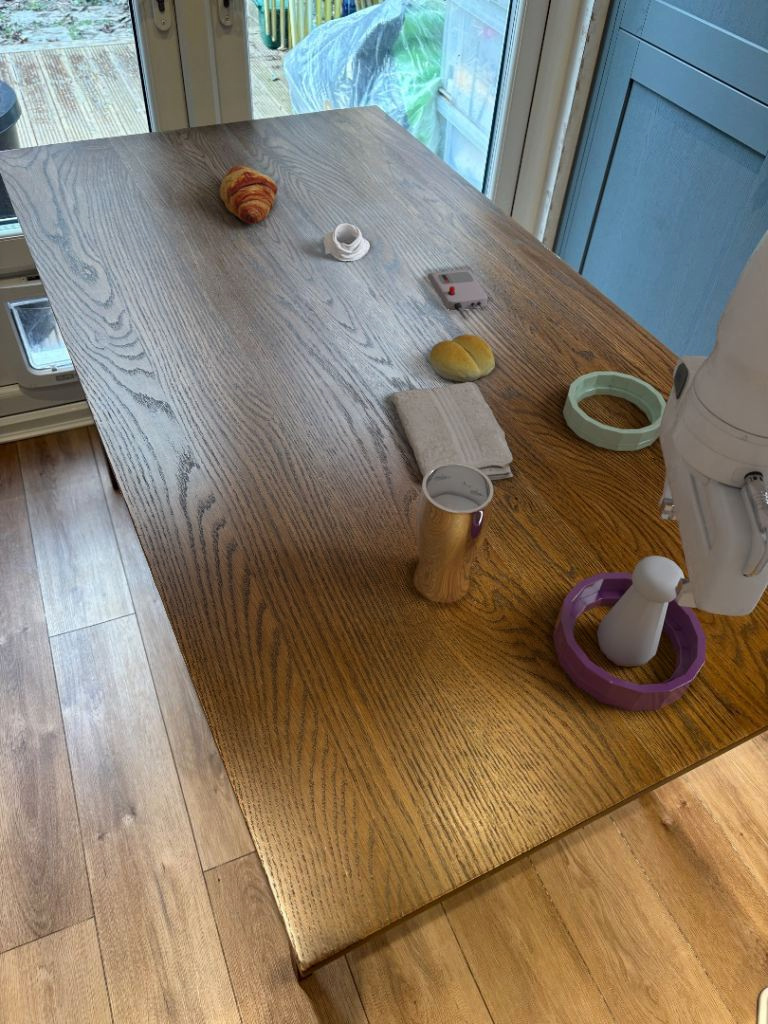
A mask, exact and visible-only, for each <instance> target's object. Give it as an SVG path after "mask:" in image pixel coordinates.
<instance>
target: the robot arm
mask: <svg viewBox="0 0 768 1024" xmlns="http://www.w3.org/2000/svg"><path fill="white" fill-rule="evenodd" d="M672 378H673V379H672V380H673V385H672V388H671V390H670V393H669V396H668V398H667V401H666V407H665V410H664V413H663V416H662V419H661V424H660V434H659V437H658V438H659V443H660V448H661V453H662V457H663V462H664V466H665V476H664V483H663V484H664V485H663V490H662V495H661V496H660V500H659V502H658V504H657V505H658V506H657V507H658V511H659V515H660V518H661V519H662V520H665V521H667V520H670V521H674V522H675V521H676V523H677V527H678V532H679V535H680V536H679V537H680V541H681V546H682V550H683V554H684V560H685V564H686V569H687V573H688V578H685V577H684V578H680V580H679V582H678V585H677V586H676V587H675V592H676V597H677V603H678V605H679V606H683V607H689V608H690V609H691V608H693V609H694V608H697V609H698V610H700V611H701V612H706V613H710V614H714V615H721V616H729V617H730V616H732V617H742V616H747V615H750V614H751V613H752V612H753V611H754V609H755V608H756V606H757V604H758V603H759V601H760V599H761V598H762V596H763V595H764V594H763V593H764V592H765V590H766V589H767V587H768V228H767V229H766V230H765V232H764V233H763V236H762V237H761V239H759V242H758V244H757V245H756V247H755V248H754V250H753V251H752V254H751V255H750V257H749V258H748V260H747V262H746V264H745V266H744V267H743V269H742V271H741V273H740V275H739V277H738V279H737V281H736V282H735V284H734V286H733V289H732V291H731V293H730V295H729V296H728V299H727V301H726V304H725V305H724V308H723V310H722V312H721V315H720V317H719V320H718V323H717V326H716V332H715V342H714V346H713V348H712V350H711V352H710V354H709V355H708V356H707V355H689V354H687V355H685V354H684V355H680V356H679V357H678V359H677V362H676V364H675V366H674V369H673V372H672Z"/></svg>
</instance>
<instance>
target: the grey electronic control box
mask: <svg viewBox="0 0 768 1024" xmlns="http://www.w3.org/2000/svg"><path fill="white" fill-rule="evenodd" d="M427 279H428V281H429V280H430V281H429V282H430V284H431V286H432V288H433V289H434V288H435V289H434V290H435V292H436V294H437V293H438V294H437V295H438V297H439V299H440V298H441V299H440V300H441V302H442V304H443V303H444V304H443V305H444V307H445V309H446V308H447V309H446V310H448V309H449V310H448V311H451V310H457V311H456V312H459V314H460V315H461V316H462V318H463V319H465V320H466V319H467V316H466V314H465V312H464V310H463V309H470V310H473V309H472V308H475V309H474V310H477V309H481V310H482V311H483V310H484V307H483V306H485V307H486V306H487V304H488V297H489V296H488V295H487V293H486V292H485V291H484V289H483V288H482V286H481V284H480V283H479V282H478V280H477V279H476V277H475V276H474V274H473V272H472V271H471V270H469V269H454V270H444V271H443V270H442V271H434V272H429V273H428V274H427ZM479 307H481V308H479ZM476 308H477V309H476Z"/></svg>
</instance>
